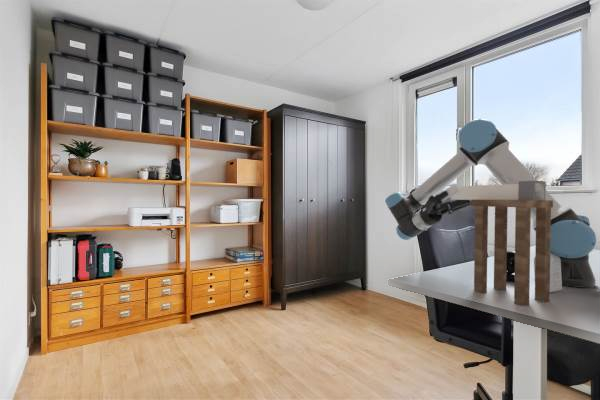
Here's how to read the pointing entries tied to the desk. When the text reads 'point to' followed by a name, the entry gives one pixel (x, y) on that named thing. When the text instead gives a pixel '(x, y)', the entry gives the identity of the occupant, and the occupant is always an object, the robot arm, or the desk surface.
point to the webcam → (510, 266)
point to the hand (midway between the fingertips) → (470, 188)
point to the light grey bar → (503, 191)
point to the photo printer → (554, 272)
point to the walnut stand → (520, 247)
